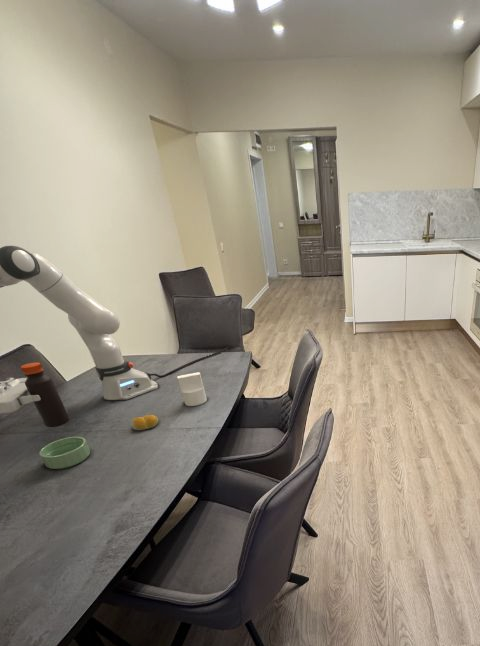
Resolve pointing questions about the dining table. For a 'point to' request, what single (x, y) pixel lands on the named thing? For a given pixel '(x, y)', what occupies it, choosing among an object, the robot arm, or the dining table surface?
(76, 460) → the bowl
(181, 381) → the cylinder with rectangular tab
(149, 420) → the bread roll
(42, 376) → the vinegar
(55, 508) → the dining table surface
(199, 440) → the dining table surface
